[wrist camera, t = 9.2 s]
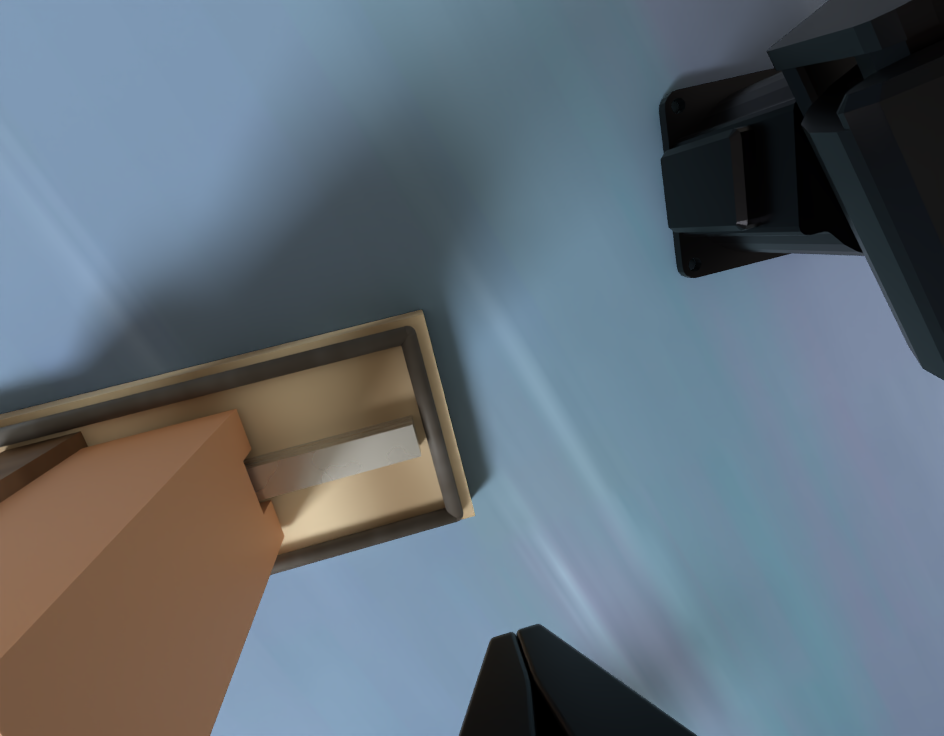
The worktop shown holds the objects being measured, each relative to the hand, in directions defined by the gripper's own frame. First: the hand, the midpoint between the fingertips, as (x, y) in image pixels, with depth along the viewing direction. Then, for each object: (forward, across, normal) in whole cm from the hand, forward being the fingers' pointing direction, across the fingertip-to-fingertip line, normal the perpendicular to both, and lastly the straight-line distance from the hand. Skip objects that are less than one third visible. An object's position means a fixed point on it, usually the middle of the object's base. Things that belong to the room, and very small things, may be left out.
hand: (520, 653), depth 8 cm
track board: (+12, -8, 0) cm, 14 cm away
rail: (+11, -6, 0) cm, 13 cm away
